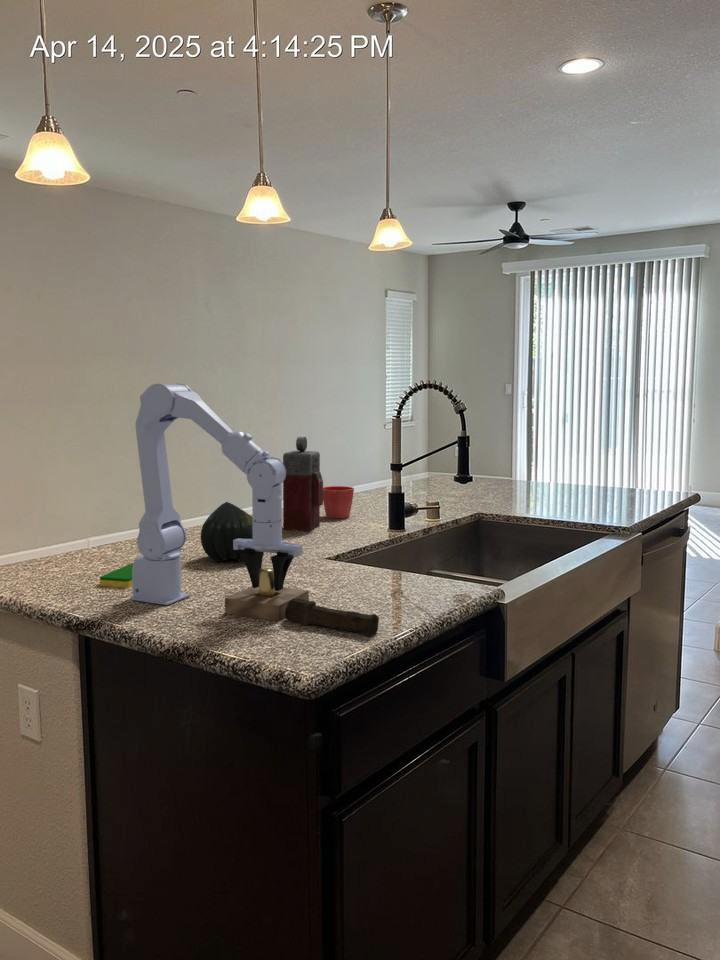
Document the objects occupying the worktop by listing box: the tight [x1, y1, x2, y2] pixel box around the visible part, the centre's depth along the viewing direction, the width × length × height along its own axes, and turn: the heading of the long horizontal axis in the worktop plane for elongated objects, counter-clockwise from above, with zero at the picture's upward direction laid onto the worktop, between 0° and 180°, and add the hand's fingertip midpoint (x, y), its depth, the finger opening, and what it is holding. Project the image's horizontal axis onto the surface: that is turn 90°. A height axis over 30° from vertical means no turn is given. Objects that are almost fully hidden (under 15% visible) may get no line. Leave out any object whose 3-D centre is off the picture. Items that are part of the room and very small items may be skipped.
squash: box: [200, 501, 253, 563], centre depth 200 cm, size 14×15×15 cm
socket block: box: [224, 585, 310, 622], centre depth 156 cm, size 12×12×3 cm
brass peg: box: [258, 567, 275, 598], centre depth 156 cm, size 3×3×8 cm
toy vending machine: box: [282, 436, 324, 532], centre depth 241 cm, size 9×11×28 cm
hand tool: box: [285, 598, 380, 638], centre depth 146 cm, size 19×4×5 cm, turn 60°
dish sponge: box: [99, 562, 134, 589], centre depth 179 cm, size 7×14×2 cm, turn 166°
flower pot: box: [323, 485, 355, 519], centre depth 263 cm, size 11×11×10 cm
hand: (267, 588), depth 156 cm, fingers open, 4 cm apart
